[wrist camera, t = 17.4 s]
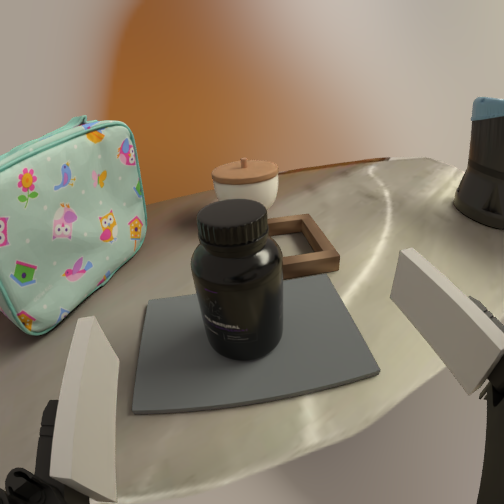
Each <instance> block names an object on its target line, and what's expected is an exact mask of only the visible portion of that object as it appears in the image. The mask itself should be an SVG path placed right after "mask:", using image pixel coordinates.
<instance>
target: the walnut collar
mask: <svg viewBox="0 0 504 504" xmlns="http://www.w3.org/2000/svg"><path fill="white" fill-rule="evenodd" d="M267 221H268V226H269V235H268V236H274V235H281V234H288V233H295V232H303V234H304V236H305V237H306V239H307V240H308V242H309V244H310V245H311V247H312V248H313V250H314V252H315V253H308V254H301V255H295V256H288V257H283V280H284V279H290V278H296V277H302V276H308V275H314V274H320V273H325V272H331V271H337V270H339V262H340V255H339V254H338V252H337V251H336V250H335V248H334V247H333V245H332V244H331V243H330V241H329V240H328V239H327V237H326V236H325V235H324V233H323V232H322V231H321V229H320V228H319V227H318V225H317V224H316V223H315V221H314V220H313V219H312V217H311V216H310V215H309V214H302V215H294V216H286V217H279V218H271V219H267Z"/></svg>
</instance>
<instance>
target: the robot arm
mask: <svg viewBox="0 0 504 504" xmlns="http://www.w3.org/2000/svg"><path fill="white" fill-rule="evenodd" d="M471 121H472V130H471V141H470V150H469V159H468V167H467V170H466V172H465V174H464V176H463V178H462V180H461V182H460V185H459V187H458V188H457V190H456V193H455V198H454V205H455V206H456V208H457V209H458V210H459V211H460V212H462V213H463V214H464V215H466V216H468V217H469V218H471V219H473V220H475V221H477V222H480V223H482V224H485V225H487V226H491V227H494V228H499V229H504V99H497V98H488V97H478V98H476V99H475V100H474V102H473V110H472V117H471ZM390 298H391V300H392V301H393V302H394V303H395V304H396V305H397V306H398V308H399V309H400V310H401V311H402V312H403V313H404V315H405V316H406V317H407V318H408V319H409V320H410V322H411V323H412V324H413V325H414V326H415V328H416V329H417V330H418V331H419V332H420V334H421V335H422V336H423V337H424V339H425V340H426V341H427V342H428V343H429V345H430V346H431V347H432V348H433V350H434V351H435V352H436V353H437V355H438V356H439V357H440V358H441V360H442V361H443V362H444V364H445V365H446V366H447V367H448V369H449V370H450V371H451V373H452V374H453V375H454V377H455V378H456V379H457V380H458V382H459V383H460V385H461V386H462V387H463V389H464V390H465V391H466V393H467V394H468V395H471V394H472V393H473V392H475V391H476V390H477V389H479V388H480V387H481V386H482V384H483V383H484V382H485V380H486V379H488V380H489V381H490V382H489V383H488V384H487V385H486V387H485V388H484V389H483V391H482V392H481V393H480V396H479V399H481V398H482V397H483V396H484V395H485V394H486V392H487V395H486V396H485V398H484V399H485V400H487V429H486V443H485V454H484V462H483V470H482V477H481V483H480V489H479V494H478V499H477V504H504V326H503V324H501V322H500V321H499V320H498V319H497V318H496V317H493V314H492V313H491V312H490V311H488V310H487V308H486V307H485V306H484V305H483V304H482V303H481V302H480V301H478V300H476V299H474V298H472V297H471V296H469V297H467V296H466V295H465V294H464V293H463V292H462V291H461V290H460V289H459V288H458V287H457V286H456V285H455V284H454V283H452V282H451V281H450V280H449V279H448V278H447V277H446V276H445V275H444V274H443V273H441V272H440V271H439V270H438V269H437V268H436V267H435V266H434V265H432V264H431V263H430V262H429V261H428V260H427V259H425V258H424V257H423V256H422V255H421V254H420V253H418V252H417V251H416V250H415V249H414V248H412V247H411V248H408V249H404V250H400V253H399V258H398V263H397V268H396V273H395V277H394V282H393V286H392V290H391V295H390ZM119 361H120V360H119V359H118V357H117V355H116V354H115V352H114V350H113V349H112V347H111V345H110V343H109V342H108V340H107V338H106V336H105V335H104V333H103V331H102V329H101V327H100V325H99V323H98V322H97V320H96V318H95V316H90V317H84V318H78V321H77V325H76V328H75V332H74V335H73V339H72V343H71V347H70V351H69V355H68V359H67V363H66V367H65V372H64V376H63V381H62V386H61V391H60V396H59V400H50V401H49V402H48V404H47V406H46V408H45V410H44V411H43V416H42V422H41V426H42V427H41V428H40V434H39V435H40V437H39V441H38V449H37V457H36V467H35V475H34V474H32V473H31V472H29V471H27V470H25V469H24V468H15V469H13V470H11V471H10V472H9V474H8V475H7V478H6V481H5V489H6V491H4V490H2V489H1V488H0V504H90V503H89V497H90V498H92V499H94V500H96V501H100V502H117V490H116V465H115V429H116V402H117V385H118V372H119Z"/></svg>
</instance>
